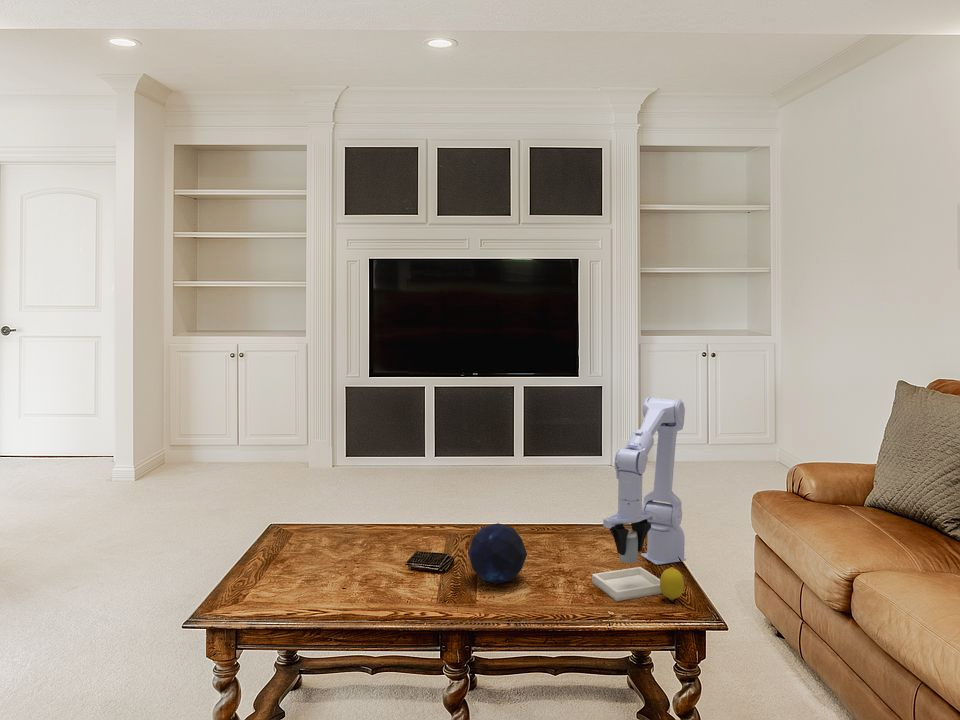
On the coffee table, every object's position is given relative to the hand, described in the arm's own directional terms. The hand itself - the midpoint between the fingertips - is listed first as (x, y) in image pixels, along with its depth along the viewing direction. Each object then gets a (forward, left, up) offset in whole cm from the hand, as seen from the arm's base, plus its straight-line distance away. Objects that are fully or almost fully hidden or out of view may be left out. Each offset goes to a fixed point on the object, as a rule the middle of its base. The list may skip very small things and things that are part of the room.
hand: (629, 552), depth 182 cm
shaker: (0, 0, -2) cm, 2 cm away
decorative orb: (+28, -16, -9) cm, 34 cm away
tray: (0, 0, -9) cm, 9 cm away
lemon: (-6, +10, -9) cm, 15 cm away
